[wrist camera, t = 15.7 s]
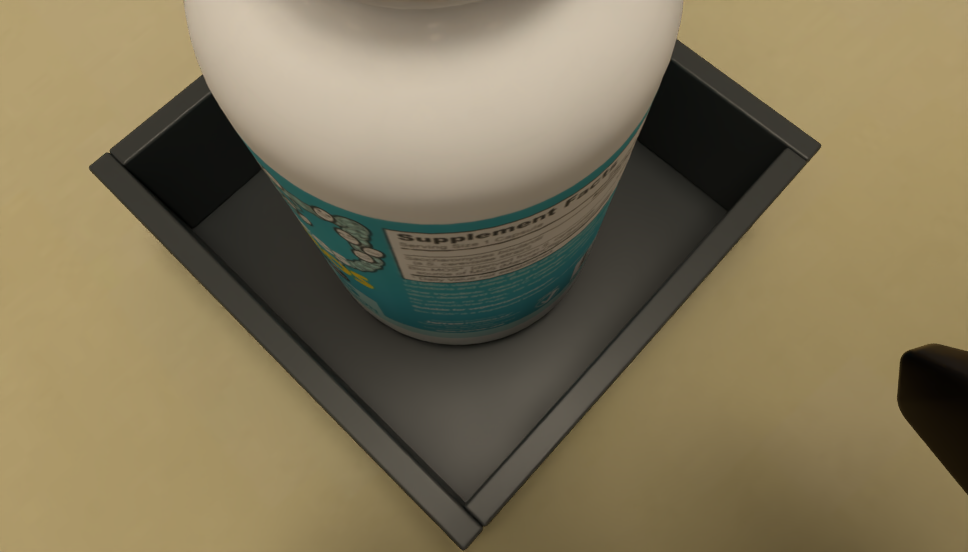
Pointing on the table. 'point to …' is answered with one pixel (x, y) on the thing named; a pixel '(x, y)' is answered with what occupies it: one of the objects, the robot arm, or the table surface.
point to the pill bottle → (441, 139)
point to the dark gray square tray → (475, 367)
